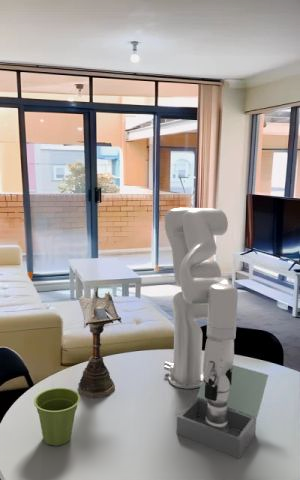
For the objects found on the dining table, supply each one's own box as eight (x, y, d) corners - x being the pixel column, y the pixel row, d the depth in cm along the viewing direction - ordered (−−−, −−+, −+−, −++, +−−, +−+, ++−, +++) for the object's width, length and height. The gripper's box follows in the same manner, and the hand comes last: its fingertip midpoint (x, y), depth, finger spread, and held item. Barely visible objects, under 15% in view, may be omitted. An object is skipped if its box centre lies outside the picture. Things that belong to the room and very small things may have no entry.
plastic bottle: (213, 444, 110) (217, 373, 107) (199, 430, 116) (202, 362, 113) (233, 437, 113) (237, 368, 110) (218, 424, 119) (221, 358, 116)
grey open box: (176, 433, 114) (177, 416, 114) (196, 413, 124) (197, 397, 124) (238, 458, 105) (240, 440, 104) (255, 434, 115) (256, 417, 114)
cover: (209, 358, 128) (210, 359, 129) (197, 396, 123) (198, 397, 124) (267, 374, 119) (268, 375, 119) (256, 417, 114) (257, 417, 115)
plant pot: (58, 458, 103) (57, 416, 101) (25, 441, 109) (24, 402, 108) (89, 434, 113) (89, 395, 111) (57, 420, 119) (56, 383, 118)
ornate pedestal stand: (127, 401, 130) (129, 292, 124) (86, 408, 125) (85, 296, 120) (113, 377, 145) (114, 279, 140) (76, 382, 141) (75, 281, 135)
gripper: (221, 318, 119) (218, 375, 122) (193, 337, 105) (190, 401, 107) (246, 324, 115) (243, 382, 117) (221, 344, 101) (217, 410, 103)
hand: (218, 391), depth 112 cm, fingers open, 9 cm apart
